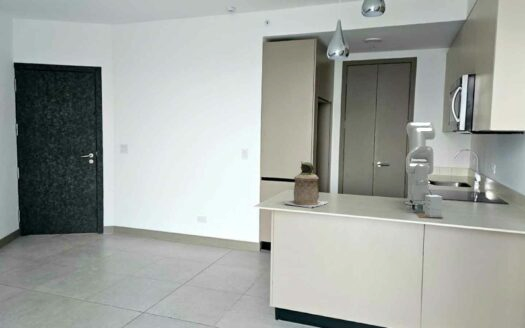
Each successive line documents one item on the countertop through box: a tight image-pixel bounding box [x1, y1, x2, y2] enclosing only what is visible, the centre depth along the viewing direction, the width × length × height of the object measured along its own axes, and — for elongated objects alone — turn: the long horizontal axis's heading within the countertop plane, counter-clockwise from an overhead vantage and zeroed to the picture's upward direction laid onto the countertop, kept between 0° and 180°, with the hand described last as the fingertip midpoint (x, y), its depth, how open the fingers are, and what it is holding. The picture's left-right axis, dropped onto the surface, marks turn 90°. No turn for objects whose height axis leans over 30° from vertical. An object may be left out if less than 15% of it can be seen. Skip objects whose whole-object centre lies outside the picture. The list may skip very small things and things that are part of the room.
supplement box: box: [424, 194, 443, 218], centre depth 228 cm, size 7×7×13 cm
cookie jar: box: [284, 161, 328, 209], centre depth 272 cm, size 25×25×32 cm
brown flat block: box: [415, 204, 444, 220], centre depth 232 cm, size 17×13×6 cm
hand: (420, 210), depth 239 cm, fingers open, 7 cm apart
